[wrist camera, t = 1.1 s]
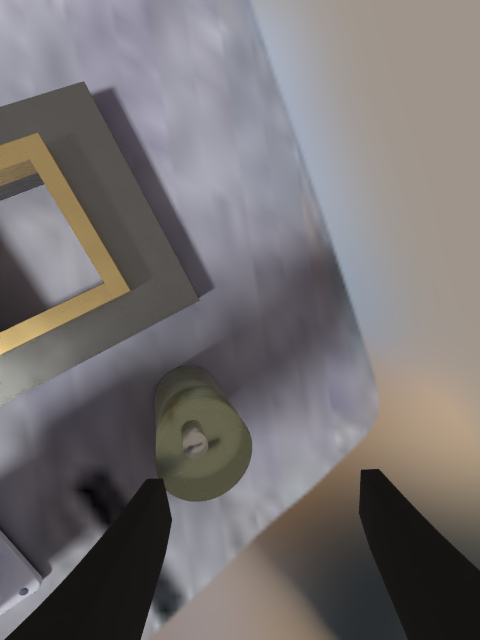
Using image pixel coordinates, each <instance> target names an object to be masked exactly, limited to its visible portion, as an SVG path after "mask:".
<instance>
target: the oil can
mask: <svg viewBox="0 0 480 640" xmlns="http://www.w3.org/2000/svg"><path fill="white" fill-rule="evenodd" d="M155 439H156V469H157V474H158V477H159V479H160V478H163V480H164V485H165V489H166V490H167V491H169V492H170V493H171V494H172V495H174V496H176V497H178V498H180V499H183V500H186V501H198V502H199V501H206V500H210V499H213V498H216V497H218V496H220V495H222V494H224V493H226V492H227V491H229V490H230V489H231V488H232V487H234V486H235V485H236V484H237V483H238V481H239V480H240V479H241V478H242V476H243V475H244V473H245V471H246V469H247V468H248V465H249V462H250V459H251V454H252V440H251V436H250V433H249V430H248V428H247V427H246V425H245V423H244V422H243V421H242V419H241V418H240V416H239V415H238V413H237V412H236V411H235V409H234V408H233V406H232V405H231V403H230V402H229V401H228V399H227V398H226V396H225V395H224V393H223V392H222V391H221V389H220V388H219V386H218V385H217V384H216V382H215V381H214V379H213V378H212V376H211V375H210V374H209V373H208V372H206V371H205V370H203V369H201V368H199V367H195V366H182V367H178V368H176V369H174V370H172V371H170V372H169V373H167V374H166V375H165V376H164V377H163V378H162V379H161V381H160V382H159V384H158V386H157V389H156V392H155Z"/></svg>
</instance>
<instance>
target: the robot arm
mask: <svg viewBox="0 0 480 640" xmlns="http://www.w3.org/2000/svg"><path fill="white" fill-rule="evenodd" d="M359 504H360V505H359V515H360V518H361V521H362V525H363V528H364V531H365V534H366V537H367V541H368V544H369V547H370V550H371V552H372V554H373V557H374V559H375V562H376V564H377V566H378V569H379V571H380V574H381V576H382V578H383V581H384V583H385V586H386V588H387V591H388V593H389V595H390V598H391V600H392V602H393V605H394V607H395V610H396V612H397V614H398V617H399V619H400V622H401V624H402V626H403V629H404V631H405V634H406V636H407V639H408V640H480V570H479V569H477V567H475V566H474V565H473V564H472V563H471V562H470V561H469V560H468V559H467V558H466V557H465V556H463V555H462V554H461V553H460V552H459V551H458V550H457V549H456V548H455V547H454V546H453V545H452V544H451V543H450V542H449V541H448V540H446V539H445V538H444V537H443V536H442V535H441V534H440V533H439V532H438V531H437V530H436V529H435V528H434V527H433V526H432V525H431V524H430V523H429V522H428V521H427V520H426V519H425V518H424V517H423V516H422V515H421V514H420V512H418V510H417V509H416V508H415V507H414V506H413V505H412V504H411V503H410V502H409V501H408V500H407V499H406V498H405V497H404V496H403V495H402V494H401V492H400V491H399V490H398V489H397V488H396V487H395V486H394V485H393V484H392V483H391V482H390V481H389V480H388V478H387V477H386V476H385V475H384V474H383V473H382V472H381V471H380V470H379V469H370V470H361V482H360V502H359ZM171 523H172V517H171V512H170V508H169V503H168V498H167V494H166V489H165V485H164V480H163V478H160V479H147V480H146V481H145V482H144V483H143V485H142V486H141V487H140V489H139V490H138V491H137V492H136V494H135V495H134V496H133V498H132V499H131V500H130V502H129V503H128V504H127V506H126V507H125V508H124V509H123V511H122V512H121V513H120V515H119V516H118V517H117V518H116V520H115V521H114V522H113V523H112V525H111V526H110V527H109V528H108V529H107V531H106V532H105V533H104V534H103V536H102V537H101V538H100V539H99V541H98V542H97V543H96V544H95V545H94V546H93V548H92V549H91V550H90V551H89V552H88V553H87V555H86V556H85V557H84V558H83V559H82V560H81V561H80V563H79V564H78V565H77V566H76V567H75V568H74V569H73V571H72V572H71V573H70V574H69V575H68V576H67V577H66V578H65V579H64V580H63V582H62V583H61V584H60V585H59V586H58V587H57V588H56V589H55V590H54V591H53V592H52V593H51V594H50V595H49V596H48V597H47V598H46V599H45V600H44V601H43V602H42V604H41V605H40V606H39V607H38V608H37V609H36V610H35V611H34V612H33V613H31V614H30V615H29V616H28V617H27V618H26V619H25V620H24V621H23V622H22V623H21V624H20V625H19V626H18V627H17V628H16V629H15V630H14V631H13V632H12V633H11V634H10V635H9V636H8V637H7V638H6V639H5V640H141V636H142V633H143V629H144V626H145V623H146V619H147V616H148V612H149V609H150V606H151V602H152V599H153V595H154V592H155V589H156V585H157V582H158V578H159V575H160V571H161V568H162V564H163V561H164V557H165V554H166V549H167V544H168V539H169V534H170V528H171ZM41 583H42V577H41V575H40V574H39V573H38V572H37V571H36V570H35V569H34V568H33V566H32V565H31V564H30V563H29V562H28V561H27V560H26V559H25V557H24V556H23V555H22V554H21V553H20V552H19V551H18V550H17V548H16V547H15V546H14V545H13V544H12V543H11V542H10V540H9V539H8V538H7V537H6V536H5V535H4V534H3V533H2V531H1V530H0V615H2V614H3V613H4V612H6V611H7V610H9V609H10V608H12V607H13V606H15V605H16V604H18V603H19V602H21V601H22V600H23V599H25V598H26V597H28V596H29V595H31V594H32V593H34V592H35V591H37V590H38V589H39V587H40V585H41ZM22 588H27V589H22Z"/></svg>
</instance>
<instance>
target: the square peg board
mask: <svg viewBox="0 0 480 640" xmlns="http://www.w3.org/2000/svg"><path fill="white" fill-rule="evenodd" d="M42 184H45V185H46V187H47V189H48V190H49V192H50V194H51V195H52V197H53V199H54V200H55V202H56V203H57V205H58V207H59V208H60V210H61V212H62V213H63V215H64V217H65V218H66V220H67V222H68V223H69V225H70V227H71V228H72V230H73V232H74V233H75V235H76V237H77V238H78V240H79V242H80V243H81V245H82V247H83V248H84V250H85V252H86V253H87V255H88V256H89V258H90V260H91V261H92V263H93V265H94V266H95V268H96V270H97V271H98V273H99V275H100V276H101V278H102V280H103V281H104V284H102V285H99V286H97V287H95V288H93V289H91V290H89V291H87V292H85V293H83V294H80V295H78V296H76V297H74V298H72V299H70V300H68V301H66V302H64V303H62V304H59V305H57V306H55V307H53V308H51V309H49V310H47V311H45V312H43V313H40V314H38V315H36V316H34V317H32V318H30V319H28V320H26V321H24V322H21V323H19V324H17V325H15V326H13V327H11V328H9V329H7V330H5V331H2V332H0V406H1V405H2V404H4V403H6V402H8V401H10V400H12V399H14V398H16V397H18V396H19V395H21V394H23V393H25V392H27V391H29V390H31V389H33V388H35V387H37V386H38V385H40V384H42V383H44V382H46V381H48V380H50V379H52V378H54V377H55V376H57V375H59V374H61V373H63V372H65V371H67V370H69V369H71V368H72V367H74V366H76V365H78V364H80V363H82V362H84V361H86V360H88V359H89V358H91V357H93V356H95V355H97V354H99V353H101V352H103V351H105V350H107V349H108V348H110V347H112V346H114V345H116V344H118V343H120V342H122V341H124V340H125V339H127V338H129V337H131V336H133V335H135V334H137V333H139V332H141V331H142V330H144V329H146V328H148V327H150V326H152V325H154V324H156V323H158V322H159V321H161V320H163V319H165V318H167V317H169V316H171V315H173V314H175V313H177V312H178V311H180V310H182V309H184V308H186V307H188V306H190V305H192V304H194V303H195V302H197V301H199V298H198V296H197V294H196V292H195V290H194V289H193V287H192V285H191V283H190V281H189V279H188V277H187V275H186V273H185V272H184V270H183V268H182V266H181V264H180V262H179V260H178V258H177V256H176V255H175V253H174V251H173V249H172V247H171V245H170V243H169V241H168V239H167V238H166V236H165V234H164V232H163V230H162V228H161V226H160V224H159V222H158V220H157V219H156V217H155V215H154V213H153V211H152V209H151V207H150V205H149V203H148V202H147V200H146V198H145V196H144V194H143V192H142V190H141V188H140V186H139V185H138V183H137V181H136V179H135V177H134V175H133V173H132V171H131V169H130V167H129V166H128V164H127V162H126V160H125V158H124V156H123V154H122V152H121V150H120V149H119V147H118V145H117V143H116V141H115V139H114V137H113V135H112V133H111V132H110V130H109V128H108V126H107V124H106V122H105V120H104V118H103V116H102V115H101V113H100V111H99V109H98V107H97V105H96V103H95V101H94V99H93V97H92V96H91V94H90V92H89V90H88V88H87V86H86V84H85V82H84V81H83V82H80V83H77V84H74V85H70V86H67V87H64V88H61V89H57V90H54V91H51V92H48V93H44V94H41V95H38V96H34V97H31V98H28V99H25V100H21V101H18V102H15V103H12V104H8V105H5V106H2V107H0V200H2V199H5V198H8V197H10V196H13V195H16V194H18V193H21V192H24V191H26V190H29V189H32V188H34V187H37V186H40V185H42Z"/></svg>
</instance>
